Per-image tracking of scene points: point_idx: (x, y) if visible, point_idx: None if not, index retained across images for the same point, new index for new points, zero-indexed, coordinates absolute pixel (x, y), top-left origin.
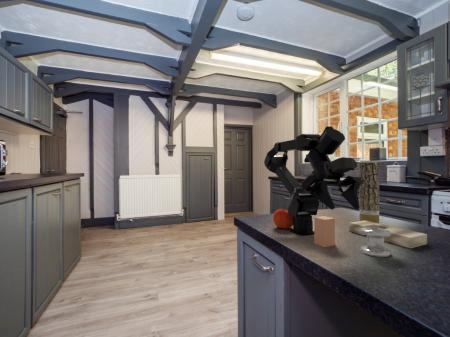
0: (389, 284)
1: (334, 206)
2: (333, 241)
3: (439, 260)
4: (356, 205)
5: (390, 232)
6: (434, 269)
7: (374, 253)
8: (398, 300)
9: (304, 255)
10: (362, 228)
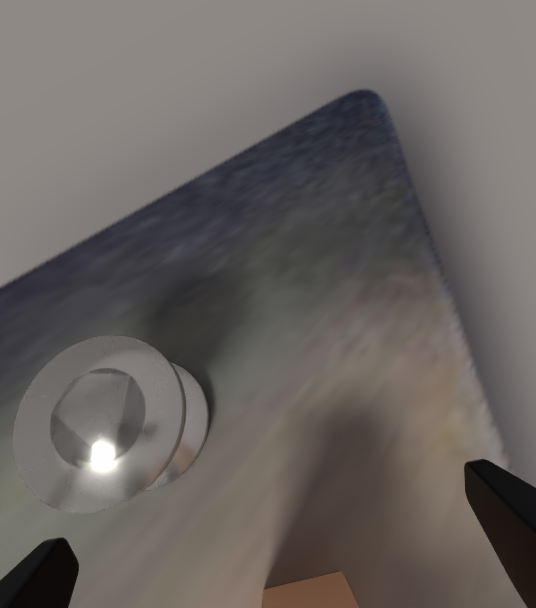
0: (327, 203)
1: (477, 469)
2: (273, 599)
3: (11, 295)
4: (39, 591)
5: (61, 354)
6: (113, 246)
7: (193, 377)
8: (366, 151)
9: None
10: (129, 487)
